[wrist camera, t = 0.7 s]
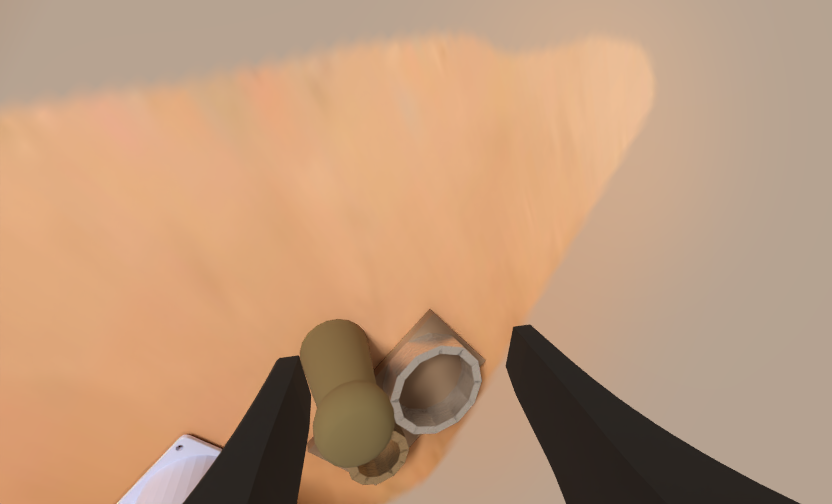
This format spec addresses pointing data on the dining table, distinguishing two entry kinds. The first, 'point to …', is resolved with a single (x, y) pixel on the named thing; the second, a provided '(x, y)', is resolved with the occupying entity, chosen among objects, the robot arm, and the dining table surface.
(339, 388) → the olive bulbous peg
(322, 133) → the dining table surface
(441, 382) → the smooth grayish brown board
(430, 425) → the wide steel ring
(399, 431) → the narrow bronze ring
